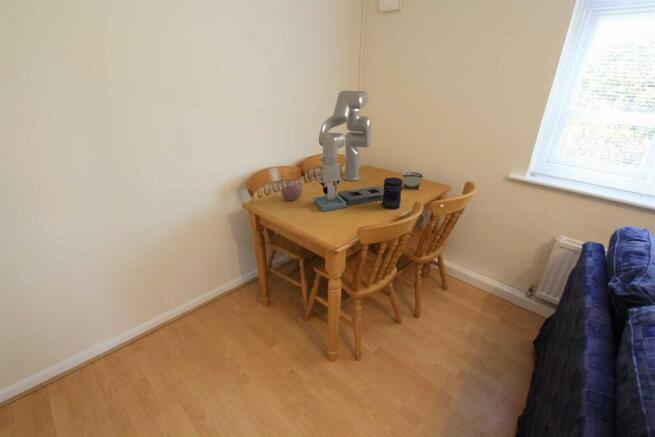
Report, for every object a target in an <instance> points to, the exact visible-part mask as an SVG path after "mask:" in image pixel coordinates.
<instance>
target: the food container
mask: <svg viewBox="0 0 655 437" xmlns="http://www.w3.org/2000/svg"><path fill="white" fill-rule="evenodd" d="M402 177H403V183H402V190H404V189H408V191H419V190H420V187H421V186H420V185H421V182H422V179H423V178H424V176H423V174H422V173H420V172H417V171H406V172H404V173H403V174H402Z"/></svg>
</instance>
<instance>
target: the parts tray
mask: <svg viewBox="0 0 655 437" xmlns="http://www.w3.org/2000/svg"><path fill="white" fill-rule="evenodd" d="M313 204H315V205H316V206H317V207H318V209H320V211H321V212H323V213H325V212H331V211H336V210H341V209H347V208H348V207H347V206H348V205H347V203H346V202H345V201H344V200H343V199H341V198H340V197H339V196H338V194H337V193H335V201H334V202H327V201H325V200H324V195H323V196H315V197H313Z"/></svg>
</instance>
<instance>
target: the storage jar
mask: <svg viewBox="0 0 655 437" xmlns="http://www.w3.org/2000/svg"><path fill="white" fill-rule="evenodd" d="M403 183H404V179H402V178H399V177H386V178H384V182H383V189H384V195H383V200H381V201H382V202H381V203H382V205H381V206H382V207H383V209H387V210H398V209H400V205H401V202H402V199H401V196H402V191H403Z"/></svg>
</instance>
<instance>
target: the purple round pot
mask: <svg viewBox="0 0 655 437" xmlns="http://www.w3.org/2000/svg"><path fill="white" fill-rule="evenodd" d="M290 182H291V180H290V179H288V181H286V183H285V185H286V187H282V188H281V189H280V193H281V195H282V197H283V198H284V199H286V200H288V201H294V200H297V199H299V198H300V197H301V195H302V192H303V187H302V185H301V183H300V182H298V183H294V184H291V185H290Z"/></svg>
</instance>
